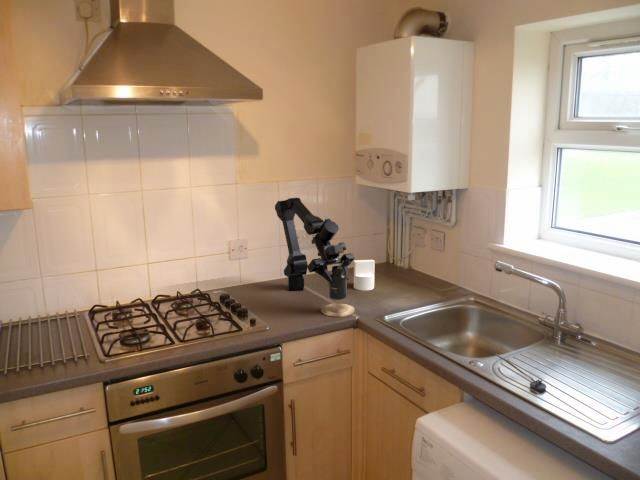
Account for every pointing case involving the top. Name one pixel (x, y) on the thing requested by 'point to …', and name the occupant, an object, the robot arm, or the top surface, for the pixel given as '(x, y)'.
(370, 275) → the cylinder with rectangular tab
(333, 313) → the beige round plate
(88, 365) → the top surface
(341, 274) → the supplement bottle
